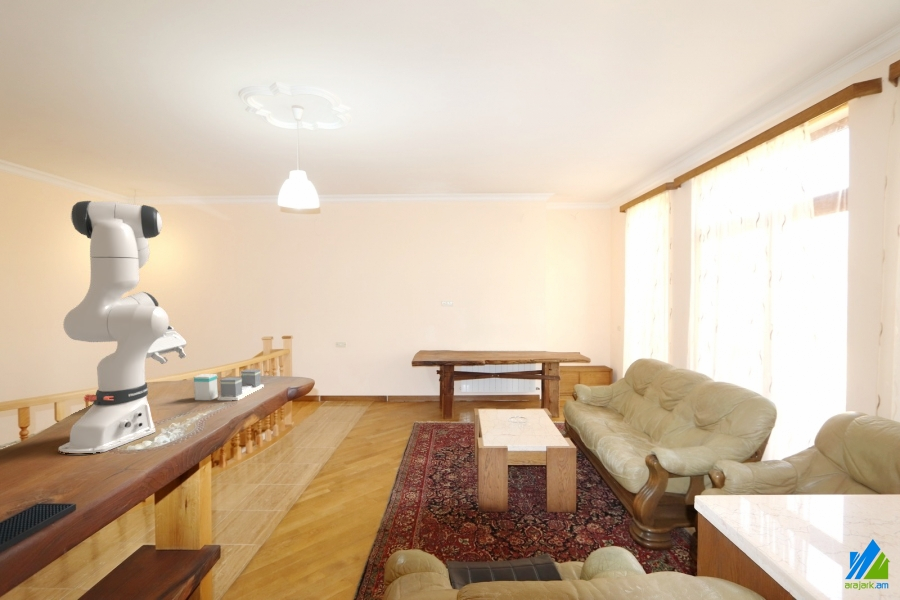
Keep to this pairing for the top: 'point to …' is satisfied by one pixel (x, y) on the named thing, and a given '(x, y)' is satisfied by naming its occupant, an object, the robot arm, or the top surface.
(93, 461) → the top surface
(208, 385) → the block
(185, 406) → the top surface
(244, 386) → the rail mount
